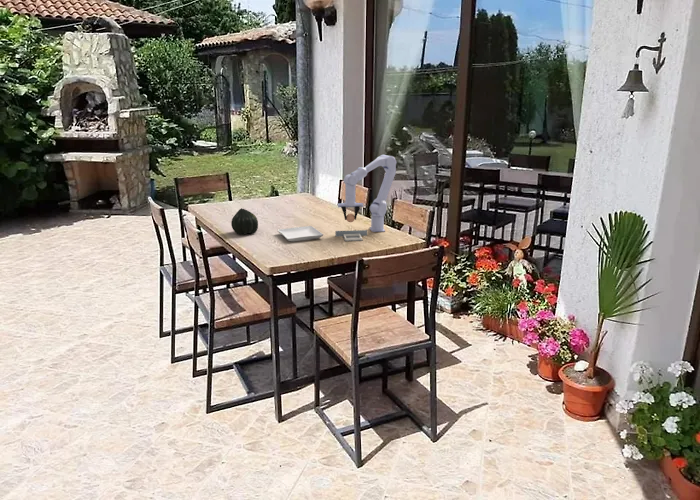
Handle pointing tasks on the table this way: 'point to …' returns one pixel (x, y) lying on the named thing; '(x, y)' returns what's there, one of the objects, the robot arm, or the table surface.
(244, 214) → the squash
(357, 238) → the white square tray
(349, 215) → the ball
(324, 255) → the table surface
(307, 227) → the salad plate
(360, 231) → the low wall
